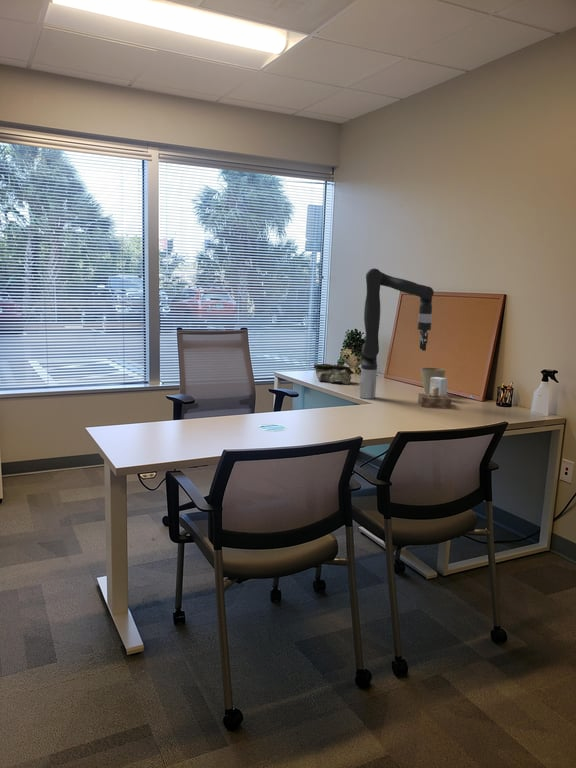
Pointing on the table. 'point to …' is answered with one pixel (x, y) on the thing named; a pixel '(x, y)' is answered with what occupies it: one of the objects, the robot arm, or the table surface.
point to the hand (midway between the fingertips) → (422, 349)
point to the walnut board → (434, 401)
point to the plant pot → (429, 373)
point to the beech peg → (435, 392)
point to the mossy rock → (333, 373)
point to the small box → (439, 384)
